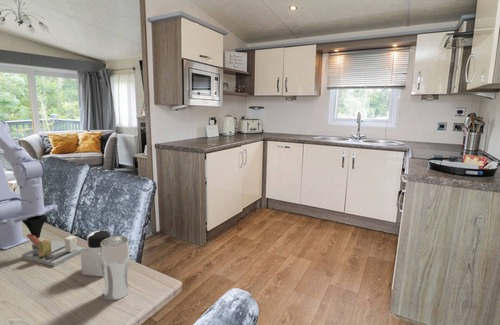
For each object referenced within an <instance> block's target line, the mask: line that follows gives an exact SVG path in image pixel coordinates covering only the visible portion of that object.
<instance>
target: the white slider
mask: <svg viewBox="0 0 500 325" xmlns="http://www.w3.org/2000/svg"><path fill="white" fill-rule="evenodd" d="M64 242H65V251H68V252H72V251H74V250H76V249H77V246H78V239H77V236H74V235H69V236H67V237H65V238H64Z"/></svg>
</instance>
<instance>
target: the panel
mask: <svg viewBox="0 0 500 325" xmlns="http://www.w3.org/2000/svg"><path fill="white" fill-rule="evenodd" d="M31 247H32V249H31V250H30V251H27V252H24V253H22V258H23V259H26V260H29V261H32V262H33V261H34V262H35V263H36V262H37V263H40V264H44V265H47V266H51V267H56V266H58V265H61V264H63V263H64V262H66V261H68V260H70V259H72V258H75V257H76V256H78V255H81V252H83V251H84V250H86V247H84V246H80V245H77V249H76V250H74V251H72V252H68V251H65V241H61V240H60V241H59V240H56V239H55V240H53V241H51V252H52V254H50V255H47V256H45V257H41V256H39V253H38V248H35V245H34V244H33V243H32V244H31Z"/></svg>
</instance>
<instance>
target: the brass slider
mask: <svg viewBox="0 0 500 325" xmlns="http://www.w3.org/2000/svg"><path fill="white" fill-rule="evenodd" d="M51 242H52V241H51V240H48V239H44V240H42V241H40V242H39V243H38V253H39V256H41V257H45V256H47V255H50V254H52V252H51Z"/></svg>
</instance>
